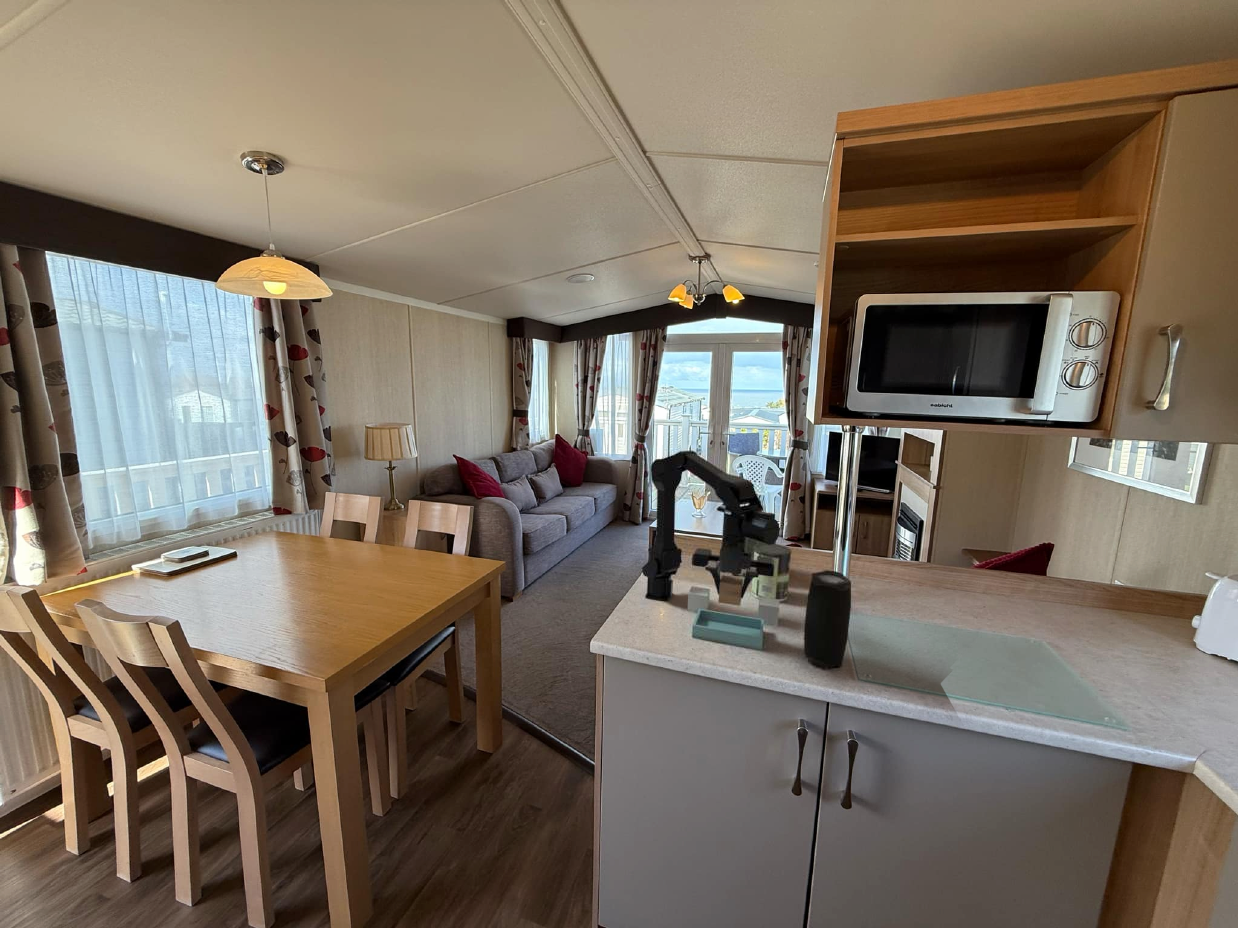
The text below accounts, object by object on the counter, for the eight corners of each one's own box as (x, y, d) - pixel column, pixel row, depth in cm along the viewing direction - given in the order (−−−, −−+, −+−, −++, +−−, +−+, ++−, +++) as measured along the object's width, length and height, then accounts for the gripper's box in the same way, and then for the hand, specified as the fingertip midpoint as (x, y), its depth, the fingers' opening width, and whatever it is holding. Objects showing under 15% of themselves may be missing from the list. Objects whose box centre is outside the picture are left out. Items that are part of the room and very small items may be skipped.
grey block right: (757, 622, 124) (758, 604, 123) (758, 614, 128) (759, 596, 128) (777, 626, 122) (779, 607, 121) (777, 617, 127) (779, 599, 126)
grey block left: (687, 610, 129) (688, 593, 128) (690, 603, 134) (691, 586, 133) (706, 614, 128) (707, 596, 127) (708, 606, 132) (709, 589, 132)
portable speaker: (797, 663, 105) (805, 577, 102) (807, 645, 113) (815, 565, 110) (840, 677, 100) (849, 587, 98) (847, 657, 108) (856, 574, 105)
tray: (691, 636, 115) (692, 625, 115) (698, 619, 124) (698, 608, 124) (761, 649, 110) (762, 637, 110) (762, 630, 119) (763, 619, 119)
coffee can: (781, 588, 146) (784, 543, 144) (792, 602, 136) (796, 554, 134) (746, 586, 146) (750, 542, 144) (755, 601, 136) (759, 553, 134)
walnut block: (720, 594, 119) (722, 574, 118) (741, 597, 118) (743, 578, 117) (718, 602, 114) (719, 582, 114) (740, 605, 113) (741, 585, 112)
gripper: (689, 537, 109) (685, 603, 111) (776, 548, 103) (770, 617, 105) (697, 525, 119) (693, 585, 122) (776, 534, 114) (771, 597, 116)
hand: (730, 595), depth 116 cm, fingers closed on walnut block, 5 cm apart
